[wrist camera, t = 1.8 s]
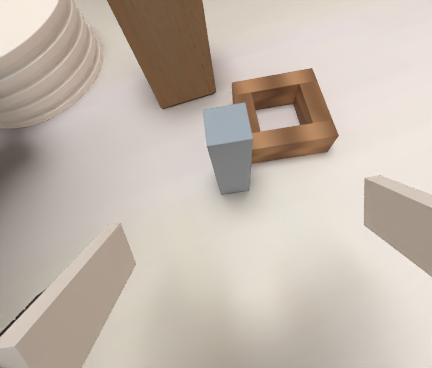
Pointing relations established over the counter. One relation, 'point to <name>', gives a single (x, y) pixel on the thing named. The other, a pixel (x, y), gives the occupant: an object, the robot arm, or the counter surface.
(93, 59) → the plate stack
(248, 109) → the square wooden frame
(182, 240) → the counter surface
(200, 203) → the counter surface
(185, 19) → the wooden block
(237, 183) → the tall blue pillar
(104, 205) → the counter surface
